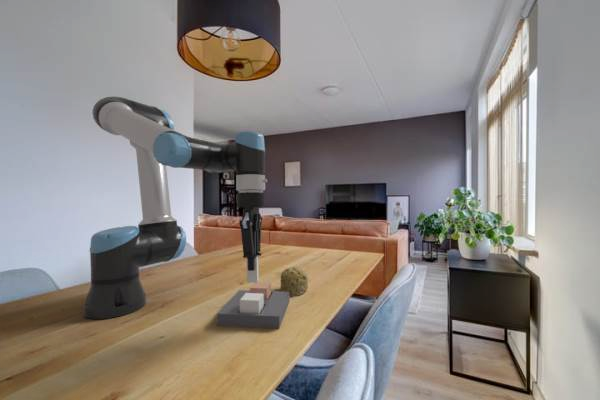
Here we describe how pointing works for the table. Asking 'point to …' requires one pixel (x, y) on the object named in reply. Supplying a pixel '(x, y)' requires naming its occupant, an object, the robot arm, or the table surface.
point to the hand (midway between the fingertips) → (252, 281)
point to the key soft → (252, 303)
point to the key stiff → (261, 289)
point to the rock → (294, 281)
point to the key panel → (265, 319)
